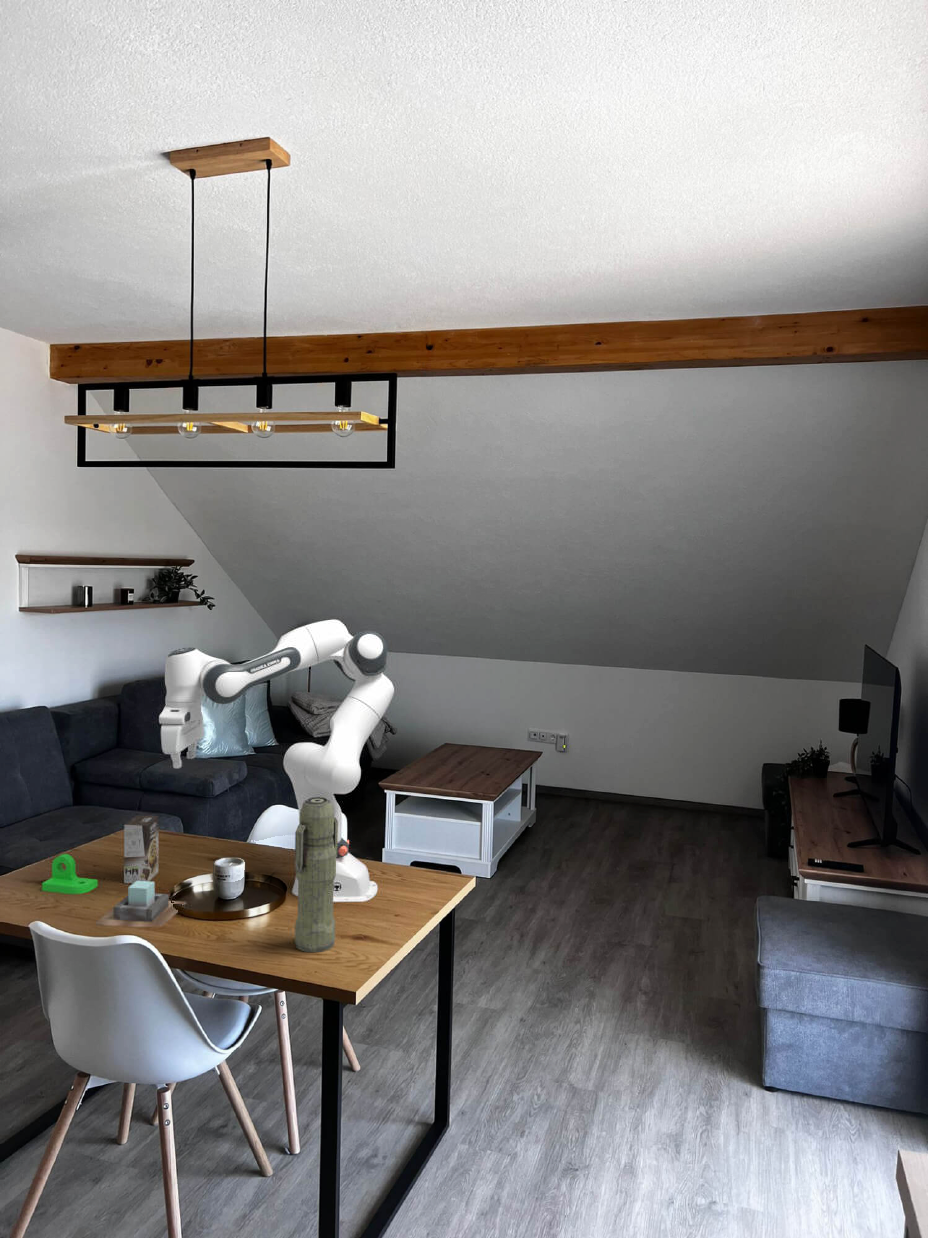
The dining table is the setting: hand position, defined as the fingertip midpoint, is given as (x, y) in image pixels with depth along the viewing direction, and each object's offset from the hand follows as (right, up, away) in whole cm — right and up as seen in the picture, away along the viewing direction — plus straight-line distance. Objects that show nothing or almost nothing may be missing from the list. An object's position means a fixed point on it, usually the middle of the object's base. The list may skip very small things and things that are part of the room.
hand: (184, 762), depth 237 cm
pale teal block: (-6, -34, -16) cm, 38 cm away
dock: (-6, -35, -16) cm, 39 cm away
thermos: (+39, -38, -32) cm, 63 cm away
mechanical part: (-30, -33, +1) cm, 45 cm away
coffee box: (-14, -33, +9) cm, 37 cm away
